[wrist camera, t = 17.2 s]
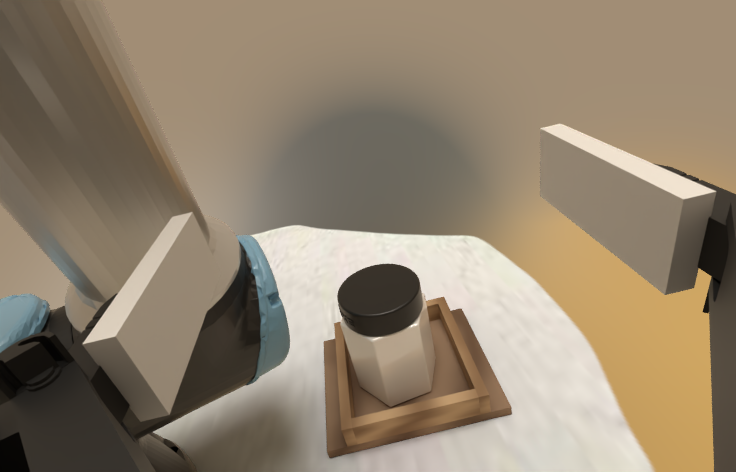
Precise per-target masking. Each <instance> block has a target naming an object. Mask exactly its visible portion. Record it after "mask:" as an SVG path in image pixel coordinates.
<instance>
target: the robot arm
mask: <svg viewBox="0 0 736 472" xmlns="http://www.w3.org/2000/svg"><path fill="white" fill-rule="evenodd" d="M540 196H541V197H542V198H543V199H545V200H546V201H547V202H549V203H550V204H551V205H553V206H554V207H555V208H556V209H557V210H559V211H560V212H561V213H562V214H564V215H565V216H566V217H567V218H569V219H570V220H571V221H572V222H574V223H575V224H576V225H578V226H579V227H580V228H581V229H583V230H584V231H585V232H586V233H588V234H589V235H590V236H591V237H593V238H594V239H595V240H596V241H598V242H599V243H600V244H601V245H603V246H604V247H605V248H606V249H608V250H609V251H610V252H612V253H613V254H614V255H615V256H617V257H618V258H619V259H620V260H622V261H623V262H624V263H626V264H627V265H628V266H629V267H631V268H632V269H633V270H634V271H635V272H637V273H638V274H639V275H641V276H642V277H643V278H644V279H646V280H647V281H648V282H649V283H651V284H652V285H653V286H654V287H656V288H657V289H658V290H659V291H661V292H662V293H663V294H665V295H667V294H671V293H676V292H680V291H683V290H688V289H692V288H694V285H695V281H696V277H697V273H698V268H700V269H701V270H703V271H705V272H706V273H707V274H709V275H711V276H712V277H711V281H710V285H709V289H708V293H707V297H706V301H705V305H704V309H703V312H704V313H709V319H710V351H711V381H712V414H713V446H714V472H736V194H734V193H731V192H729V191H727V190H724V189H722V188H719V187H717V186H715V185H712V184H710V183H707V182H705V181H703V180H701V181H699V179H698V178H696V177H693V176H691V175H687V174H686V173H684V172H682V171H679V170H677V169H674V168H672V167H668V166H662V165H657V164H652V163H650V162H647V161H645V160H643V159H641V158H638V157H636V156H634V155H632V154H629V153H627V152H625V151H622V150H620V149H618V148H615V147H613V146H610V145H608V144H606V143H604V142H602V141H599V140H597V139H595V138H592V137H590V136H588V135H586V134H583V133H581V132H579V131H576V130H574V129H572V128H569V127H567V126H565V125H563V124H557V125H553V126H549V127H544V128H541V129H540ZM0 204H1V205H2V206H3V207H4V209H5V210H6V211H7V212H8V213H9V214H10V215H11V216H12V217H13V219H15V221H16V222H17V223H18V224H19V225H20V226H21V227H22V228H23V230H24V231H25V232H26V233H27V234H28V235H29V236H30V237H31V238H32V239H33V241H34V242H35V243H36V244H37V245H38V246H39V247H40V248H41V249H42V250H43V252H44V253H45V254H46V255H47V256H48V257H49V258H50V259H51V260H52V262H53V263H54V264H55V265H56V266H57V267H58V268H59V269H60V270H61V271H62V273H63V274H64V275H65V276H66V277H67V278H68V279H69V280H70V281H71V282H70V284H69V286H68V289H67V293H66V297H65V306H63V307H60V308H58V309H54V310H50V308H49V304H48V302H47V301H45V300H42V299H40V298H39V297H37V296H35V295H32V294H21V295H18V296H17V295H12V296H9V297H5V298H2V299H0V472H197V470H196V468H195V466H194V464H193V463H192V461H191V460H190V459H189V457H188V456H187V454H186V453H185V452H184V451H183V450H182V449H181V448H180V447H179V446H178V445H177V444H175V443H173V442H171V441H169V440H167V439H164V438H162V437H161V436H159V435H157V434H155V433H153V431H155V430H157V429H159V428H161V427H163V426H165V425H167V424H169V423H171V422H173V421H175V420H177V419H179V418H180V417H182V416H184V415H186V414H188V413H190V412H192V411H194V410H196V409H198V408H200V407H202V406H204V405H206V404H208V403H210V402H212V401H214V400H216V399H218V398H220V397H222V396H224V395H226V394H229V393H231V392H233V391H235V390H237V389H239V388H241V387H243V386H245V385H249V384H252V383H254V382H255V381H256V380H257V379H258V378H259V377H260V376H261V375H263V374H265V373H267V372H268V371H270V370H272V369H274V368H275V367H277V366H278V365H280V364H281V363H282V362H283V361H284V360H285V358H286V357H287V355H288V352H289V348H290V335H289V328H288V323H287V318H286V314H285V310H284V307H283V303H282V301H281V299H280V298H279V293H278V289H277V285H276V281H275V278H274V276H273V273H272V270H271V268H270V265H269V263H268V261H267V259H266V256H265V254H264V252H263V251H262V249H261V247H260V246H259V244H258V242H257V241H256V240H255V239H254V238H253V237H252V236H250V235H242V236H238V235H235V233H234V232H233V231H232V230H231V229H230V228H229V226H227V225H226V224H225V223H224V222H222V221H220V220H218V219H216V218H213V217H210V216H206V215H203V214H202V213H201V210H200V208H199V206H198V204H197V202H196V199H195V197H194V195H193V193H192V191H191V189H190V187H189V185H188V182H187V180H186V178H185V176H184V174H183V172H182V170H181V167H180V165H179V163H178V161H177V159H176V157H175V155H174V152H173V151H172V148H171V146H170V144H169V142H168V140H167V138H166V136H165V133H164V131H163V129H162V127H161V125H160V123H159V121H158V118H157V116H156V114H155V112H154V110H153V108H152V106H151V104H150V101H149V99H148V97H147V95H146V93H145V91H144V88H143V86H142V84H141V82H140V80H139V78H138V76H137V74H136V71H135V69H134V67H133V65H132V63H131V61H130V59H129V57H128V54H127V52H126V50H125V48H124V46H123V44H122V42H121V39H120V38H119V36H118V33H117V31H116V29H115V27H114V25H113V23H112V20H111V18H110V16H109V14H108V12H107V10H106V7H105V6H104V3H103V1H102V0H0Z"/></svg>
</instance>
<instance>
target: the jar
mask: <svg viewBox="0 0 736 472" xmlns="http://www.w3.org/2000/svg"><path fill="white" fill-rule="evenodd" d="M337 297H338V303H339V309H340V312H341V315H342V320H341V323H340V325H341V328H342V331H343V334H344V338H345V341H346V344H347V347H348V350H349V353H350V356H351V360H352V363H353V366H354V369H355V372H356V375H357V379H358V382H359V385H360V387H362V388H363V389H364V390H366V391H367V392H369V393H370V394H372V395H373V396H375V397H376V398H378V399H379V400H381V401H382V402H384V403H385V404H387V405H388V406H390V407H392V406H395V405H397V404H400V403H402V402H405V401H407V400H410V399H413V398H415V397H418V396H420V395H423V394H425V393H428V392H430V391H431V389H432V382H433V374H434V367H435V360H436V357H435V351H434V345H433V339H432V334H431V328H430V322H429V316H428V311H427V305H426V299H425V295H424V294H423V293H422V292H421V287H420V281H419V278H418V277H417V275H416V274H415V273H414V272H413V271H412V270H410V269H409V268H407V267H404V266H401V265H396V264H379V265H374V266H370V267H367V268H364V269H362V270H359V271H357V272H356V273H354V274H352V275H351V276H350V277H348V278H347V279H346V280H345V281H344V282H343V284H342V285H341V287H340V289H339V291H338V296H337Z"/></svg>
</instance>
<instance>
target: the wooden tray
mask: <svg viewBox="0 0 736 472" xmlns="http://www.w3.org/2000/svg"><path fill="white" fill-rule="evenodd" d="M426 305H427V311H428V316H429V322H430V328H431V334H432V339H433V345H434V351H435V357H436V360H435V367H434V374H433V382H432V389H431V391H430V392H428V393H425V394H423V395H420V396H418V397H415V398H413V399H410V400H407V401H405V402H402V403H400V404H397V405H395V406H392V407H390V406H388V405H387V404H385V403H384V402H382V401H381V400H379V399H378V398H376V397H375V396H373V395H372V394H370V393H369V392H367V391H366V390H364V389H363V388H362V387H360V385H359V382H358V379H357V375H356V372H355V369H354V366H353V363H352V360H351V356H350V353H349V350H348V347H347V344H346V341H345V338H344V334H343V331H342V328H341V325H340V323H341V322H337V323H334V326H335V339H333V340H328V341H324V365H325V397H326V430H327V453H328V455H329V457H330V458H331V457H336V456H340V455H344V454H348V453H352V452H356V451H360V450H364V449H369V448H373V447H377V446H381V445H385V444H389V443H393V442H397V441H402V440H406V439H410V438H414V437H418V436H422V435H426V434H430V433H435V432H439V431H443V430H447V429H451V428H455V427H459V426H463V425H468V424H472V423H476V422H480V421H484V420H488V419H492V418H496V417H501V416H505V415H509V414H512V413H511V406H510V404H509V402H508V400H507V398H506V396H505V394H504V392H503V390H502V388H501V386H500V384H499V382H498V380H497V378H496V376H495V374H494V372H493V370H492V368H491V366H490V364H489V362H488V360H487V358H486V356H485V354H484V352H483V350H482V348H481V346H480V344H479V342H478V340H477V338H476V336H475V334H474V332H473V330H472V329H471V327H470V325H469V323H468V321H467V319H466V317H465V315H464V313H463V311H462V309H457V310H453V311H450V309H449V307H448V305H447V303H446V300H445V298H444V297H441V298H437V299H433V300H428V301H426Z"/></svg>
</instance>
